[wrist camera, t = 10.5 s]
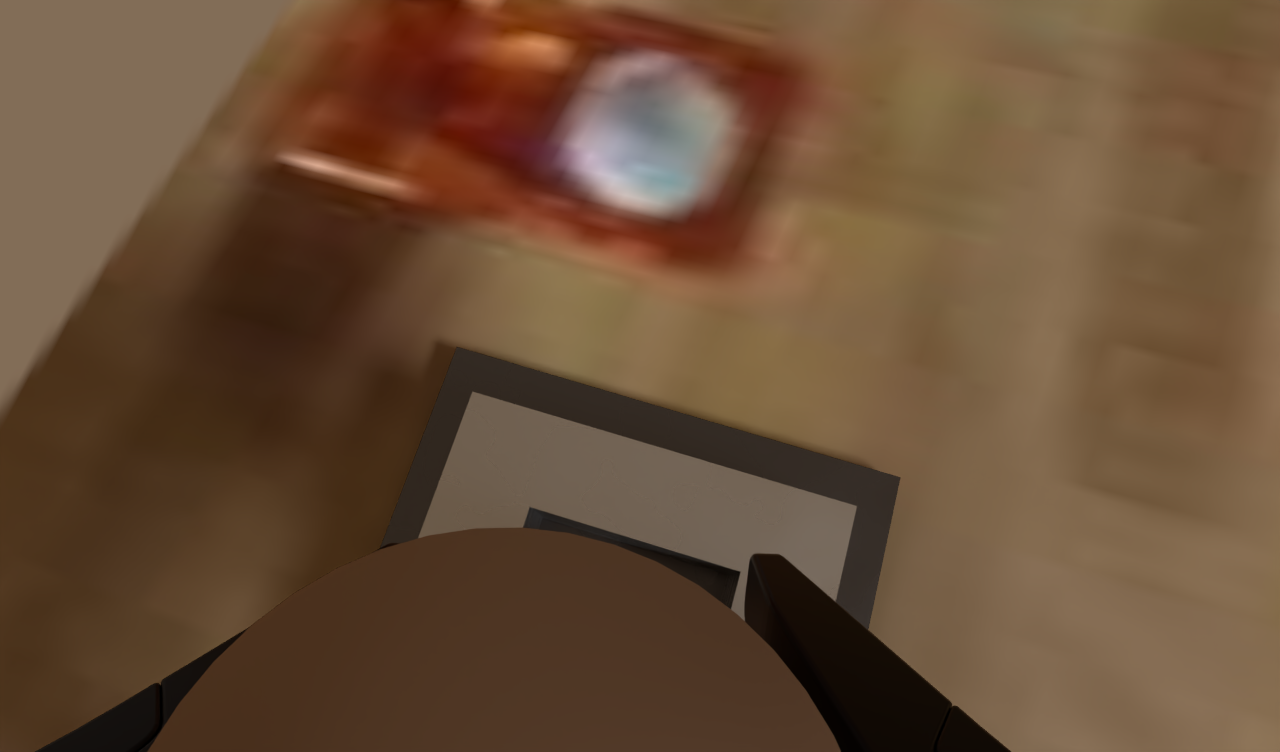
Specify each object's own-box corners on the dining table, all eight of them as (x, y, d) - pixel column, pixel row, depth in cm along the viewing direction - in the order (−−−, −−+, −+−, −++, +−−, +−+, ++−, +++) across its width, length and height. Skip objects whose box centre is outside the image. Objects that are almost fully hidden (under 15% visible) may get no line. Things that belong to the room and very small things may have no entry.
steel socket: (894, 480, 21) (936, 461, 18) (783, 999, 17) (813, 1078, 15) (461, 352, 21) (434, 314, 19) (280, 825, 18) (215, 868, 15)
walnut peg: (704, 623, 19) (1024, 799, 4) (626, 757, 18) (603, 1714, 3) (584, 543, 20) (407, 393, 4) (502, 670, 19) (-105, 1087, 3)
